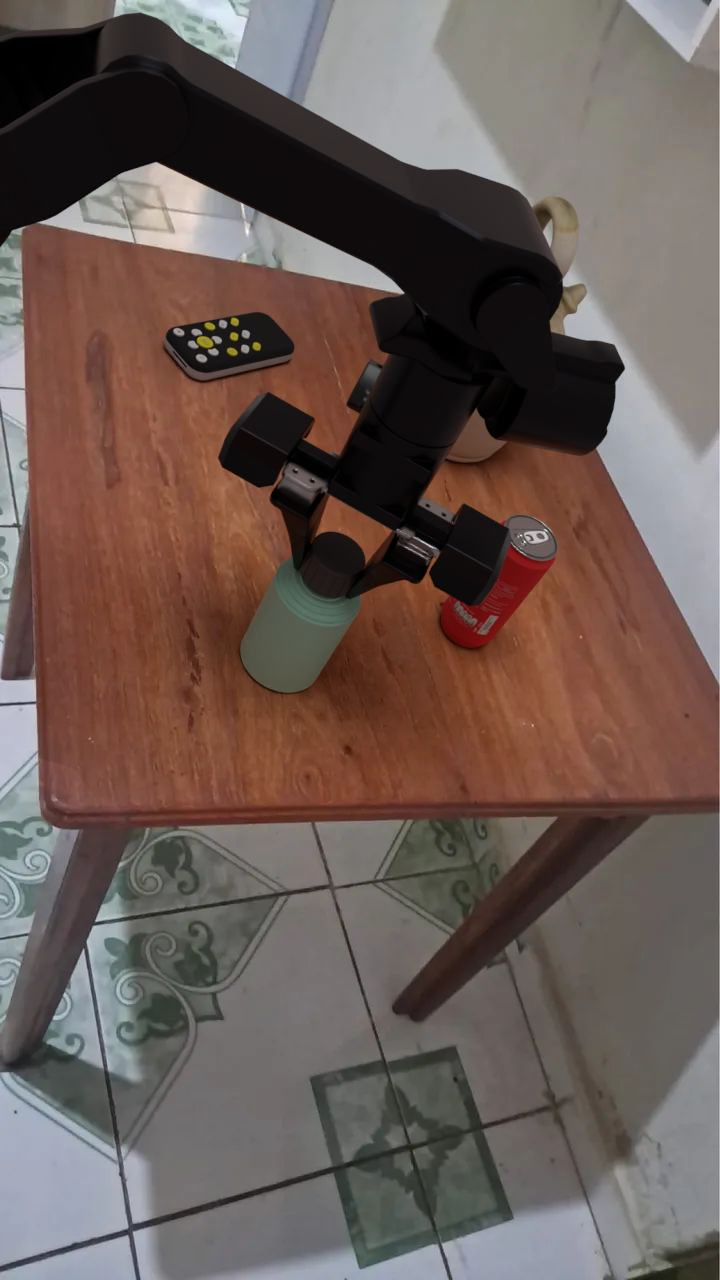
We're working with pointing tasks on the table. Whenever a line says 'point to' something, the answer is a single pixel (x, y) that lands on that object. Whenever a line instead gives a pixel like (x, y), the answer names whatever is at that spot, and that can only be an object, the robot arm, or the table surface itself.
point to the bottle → (294, 632)
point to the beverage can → (504, 584)
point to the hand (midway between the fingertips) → (324, 580)
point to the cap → (332, 564)
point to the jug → (564, 243)
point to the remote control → (228, 345)
